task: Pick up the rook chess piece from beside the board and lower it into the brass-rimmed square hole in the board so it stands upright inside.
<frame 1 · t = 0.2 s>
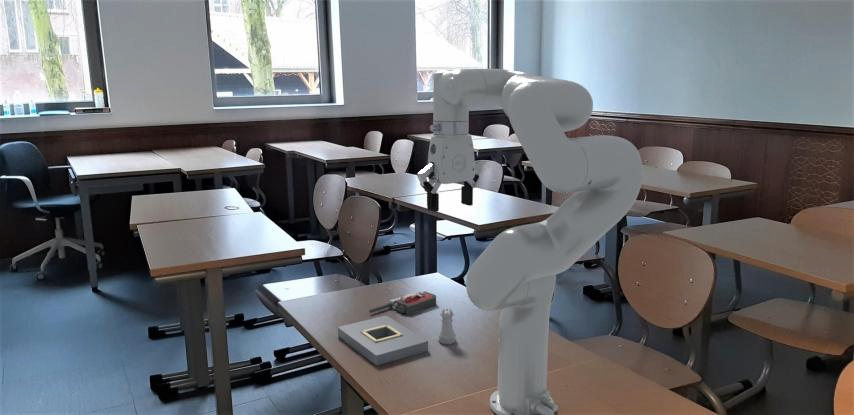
hand: (450, 207, 139), 36 cm above the table, tool pointing down, fingers open, 9 cm apart
rook chess piece: (447, 342, 157), on the table
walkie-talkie: (404, 310, 179), on the table
socket board: (381, 343, 156), on the table
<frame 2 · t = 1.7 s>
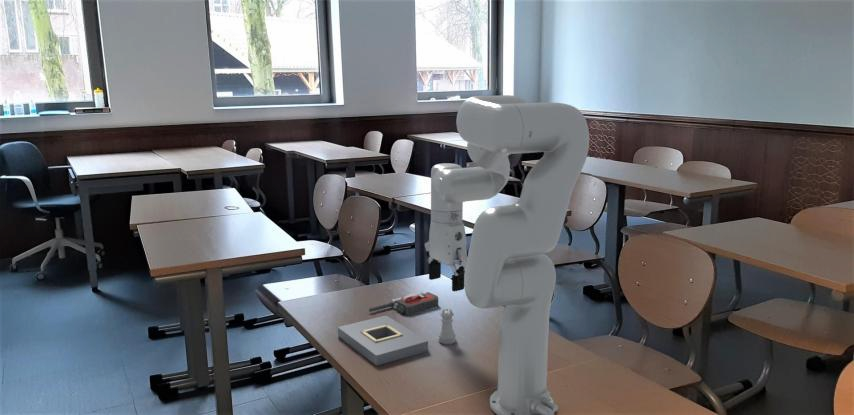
hand: (446, 284, 155), 15 cm above the table, tool pointing down, fingers open, 9 cm apart
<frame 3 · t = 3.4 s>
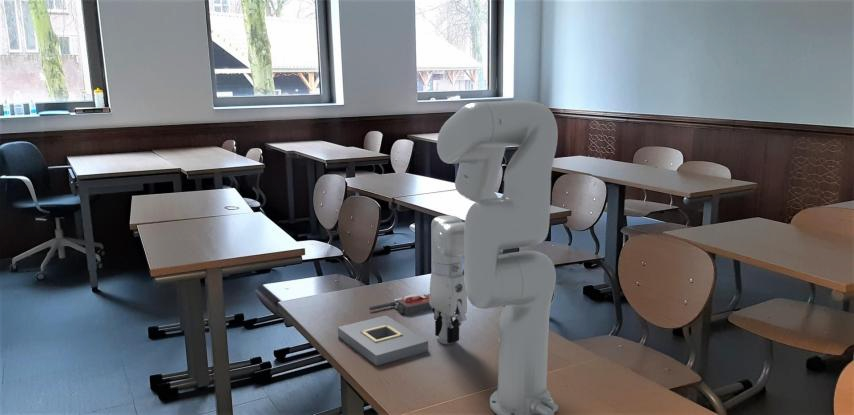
hand: (447, 337, 157), 1 cm above the table, tool pointing down, fingers closed on rook chess piece, 4 cm apart
rook chess piece: (447, 341, 157), on the table, touching gripper
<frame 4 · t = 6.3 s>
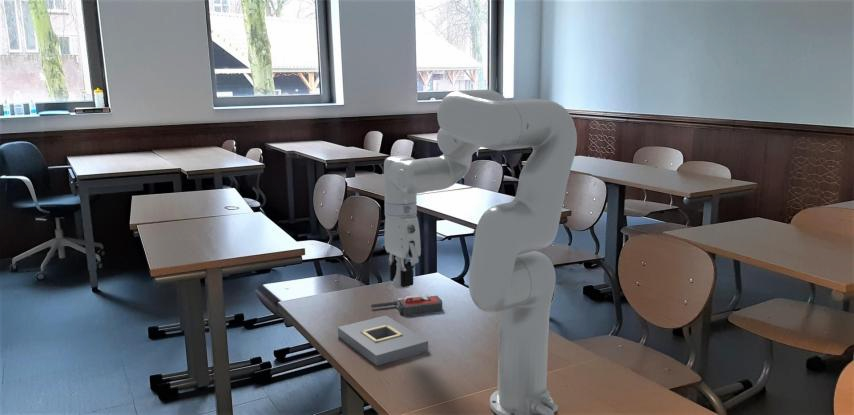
hand: (401, 282, 153), 16 cm above the table, tool pointing down, fingers closed on rook chess piece, 4 cm apart
rook chess piece: (401, 286, 154), point 14 cm above the table, touching gripper
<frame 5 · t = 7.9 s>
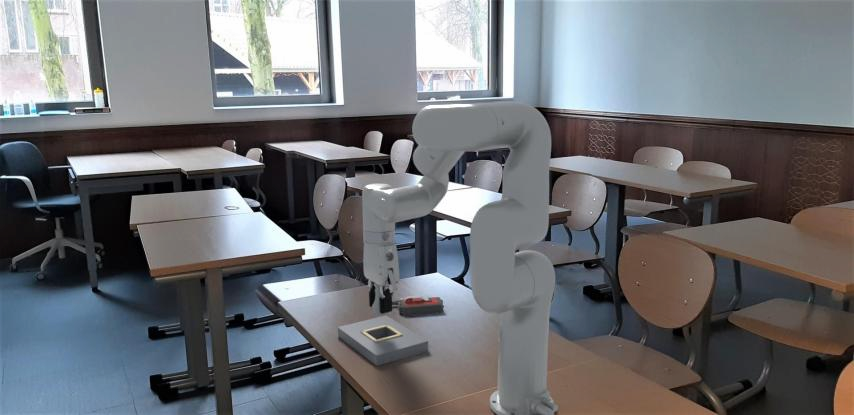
hand: (380, 308, 154), 9 cm above the table, tool pointing down, fingers closed on rook chess piece, 4 cm apart
rook chess piece: (380, 312, 155), point 8 cm above the table, touching gripper
when the fingers open (4 cm above the table, at t = 9.1 s): rook chess piece drops 3 cm, resting in socket board.
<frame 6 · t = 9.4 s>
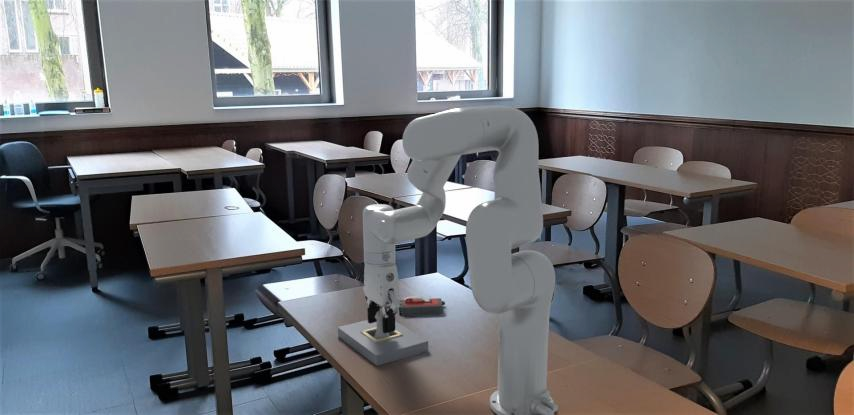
hand: (381, 326, 155), 4 cm above the table, tool pointing down, fingers open, 6 cm apart
rook chess piece: (382, 344, 156), resting in socket board
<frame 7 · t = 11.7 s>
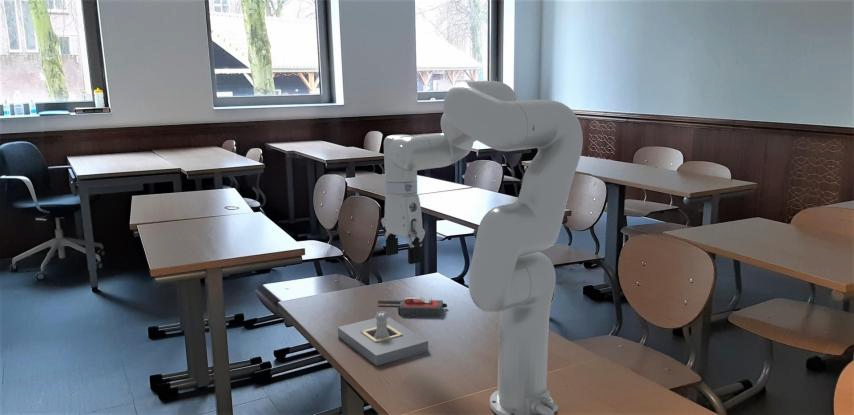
hand: (403, 258, 152), 21 cm above the table, tool pointing down, fingers open, 9 cm apart
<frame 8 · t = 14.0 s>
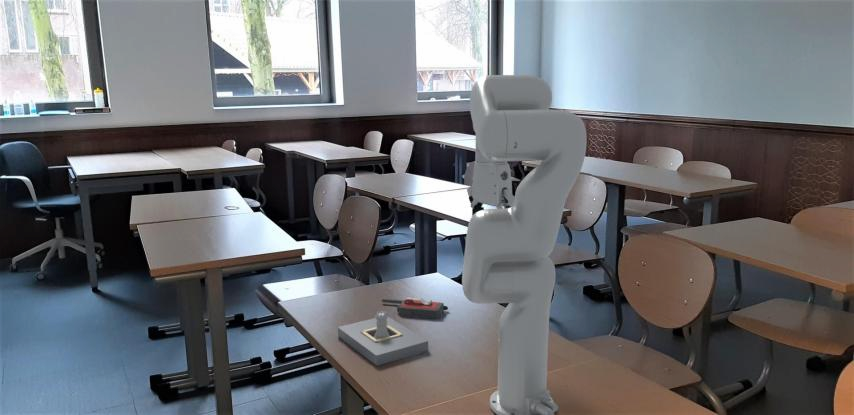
hand: (490, 227, 154), 28 cm above the table, tool pointing down, fingers open, 9 cm apart
at the end: rook chess piece 0.1 cm off-centre on the socket board, point 0.0 cm above the socket board's base; rook chess piece tilted 0°; the gripper is holding nothing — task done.
